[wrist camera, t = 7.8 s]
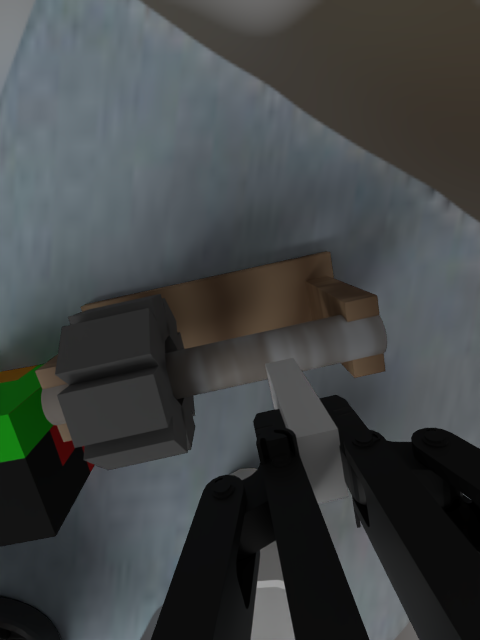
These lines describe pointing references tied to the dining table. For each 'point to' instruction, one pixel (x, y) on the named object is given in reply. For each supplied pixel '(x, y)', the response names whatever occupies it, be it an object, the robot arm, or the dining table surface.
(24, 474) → the puzzle toy
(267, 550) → the foam cup
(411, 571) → the robot arm
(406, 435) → the dining table surface
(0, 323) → the dining table surface
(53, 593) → the dining table surface
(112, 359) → the dark gray notched block
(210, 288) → the pipe rig
